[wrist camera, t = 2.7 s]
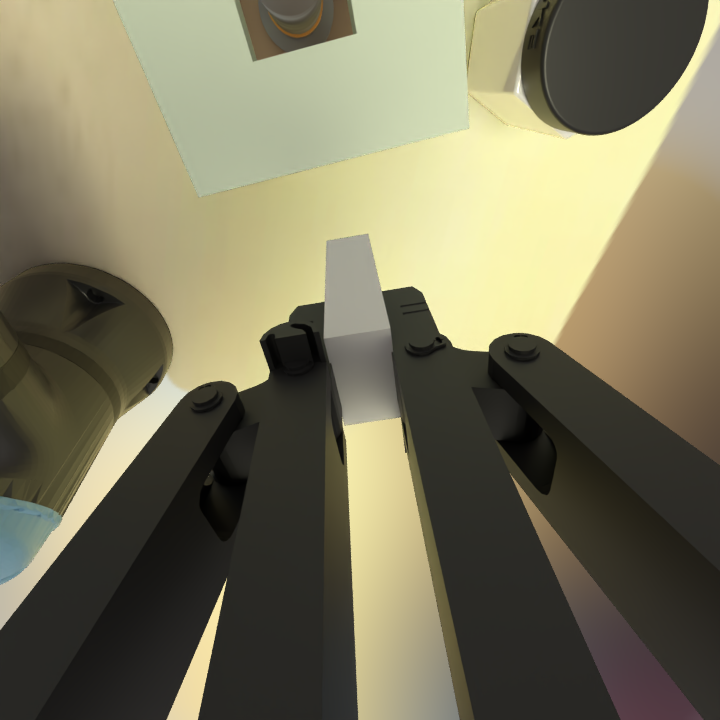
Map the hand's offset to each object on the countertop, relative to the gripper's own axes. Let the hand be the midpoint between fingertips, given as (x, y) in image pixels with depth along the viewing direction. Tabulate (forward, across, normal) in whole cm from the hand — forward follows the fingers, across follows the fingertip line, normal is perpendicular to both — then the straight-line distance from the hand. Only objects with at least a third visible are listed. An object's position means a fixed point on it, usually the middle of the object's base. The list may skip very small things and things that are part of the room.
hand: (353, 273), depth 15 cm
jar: (+22, +14, +5) cm, 27 cm away
